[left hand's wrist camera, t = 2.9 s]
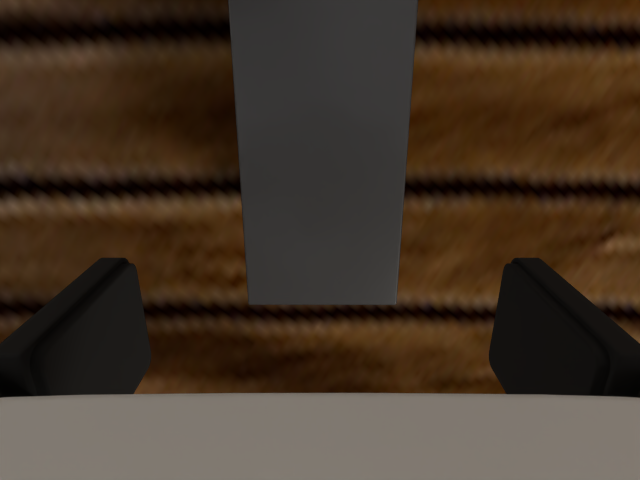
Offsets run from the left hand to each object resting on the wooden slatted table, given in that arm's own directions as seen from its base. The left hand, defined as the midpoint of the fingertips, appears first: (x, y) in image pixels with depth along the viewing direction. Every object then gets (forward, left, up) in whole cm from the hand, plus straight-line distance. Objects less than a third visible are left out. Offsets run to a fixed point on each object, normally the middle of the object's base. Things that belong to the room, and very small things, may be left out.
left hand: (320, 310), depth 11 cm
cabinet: (+7, +2, -16) cm, 18 cm away
